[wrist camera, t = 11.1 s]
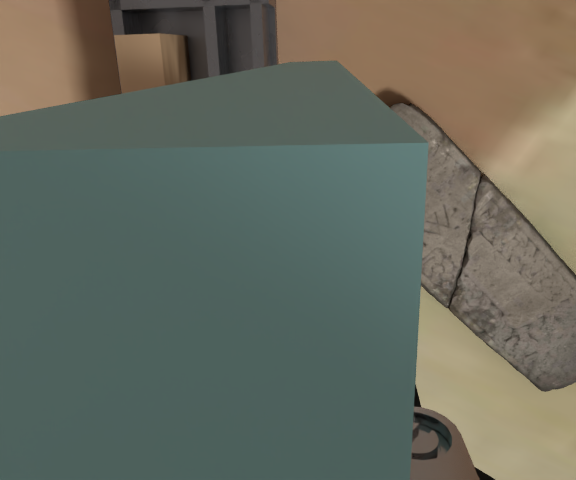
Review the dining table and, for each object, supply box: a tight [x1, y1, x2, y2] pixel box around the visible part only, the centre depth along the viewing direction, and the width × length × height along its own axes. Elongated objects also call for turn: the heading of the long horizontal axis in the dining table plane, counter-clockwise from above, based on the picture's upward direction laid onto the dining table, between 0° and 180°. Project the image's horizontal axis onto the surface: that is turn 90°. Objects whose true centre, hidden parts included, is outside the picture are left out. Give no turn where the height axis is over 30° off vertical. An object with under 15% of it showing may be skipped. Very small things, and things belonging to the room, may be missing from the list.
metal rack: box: [109, 0, 278, 93], centre depth 41 cm, size 20×11×5 cm, turn 2°
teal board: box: [0, 61, 429, 480], centre depth 12 cm, size 12×2×18 cm, turn 2°
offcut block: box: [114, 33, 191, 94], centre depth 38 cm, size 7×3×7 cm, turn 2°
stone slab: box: [390, 103, 576, 392], centre depth 45 cm, size 10×3×30 cm
